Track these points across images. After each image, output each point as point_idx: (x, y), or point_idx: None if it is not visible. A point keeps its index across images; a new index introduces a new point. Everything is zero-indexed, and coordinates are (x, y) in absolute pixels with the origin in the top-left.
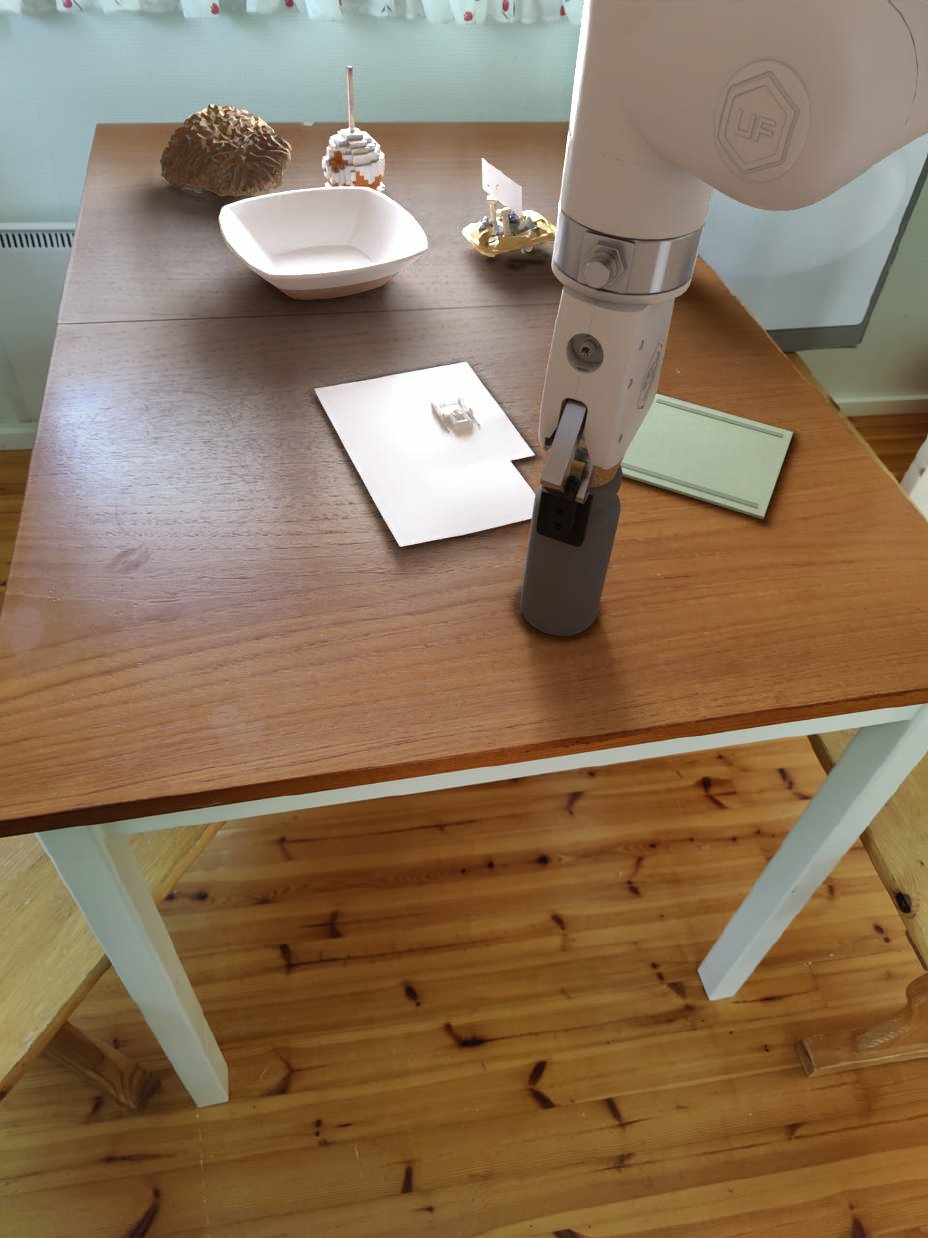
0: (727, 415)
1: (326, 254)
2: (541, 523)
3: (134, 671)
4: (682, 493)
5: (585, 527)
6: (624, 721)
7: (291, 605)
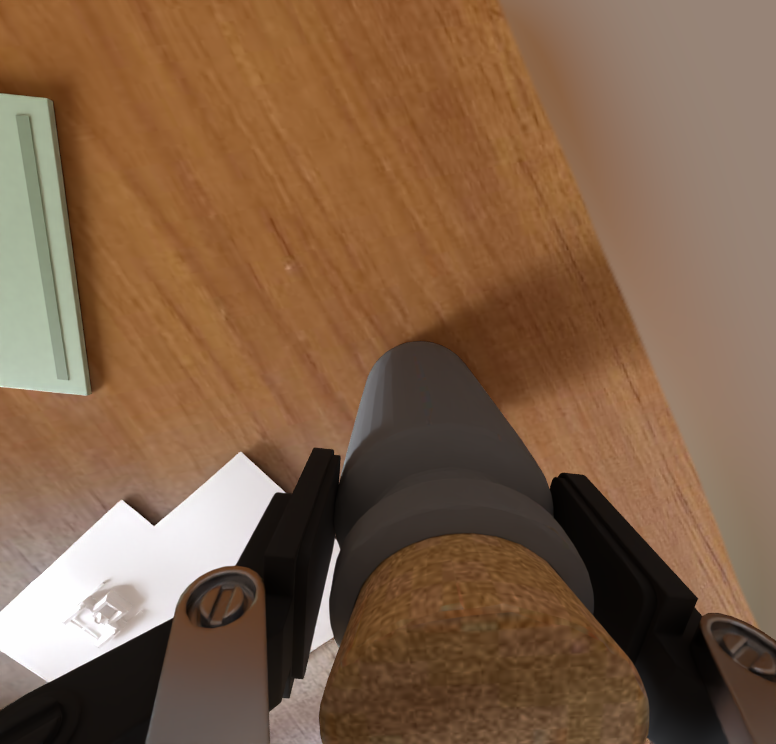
0: None
1: None
2: None
3: None
4: (72, 265)
5: (617, 511)
6: (598, 259)
7: None
